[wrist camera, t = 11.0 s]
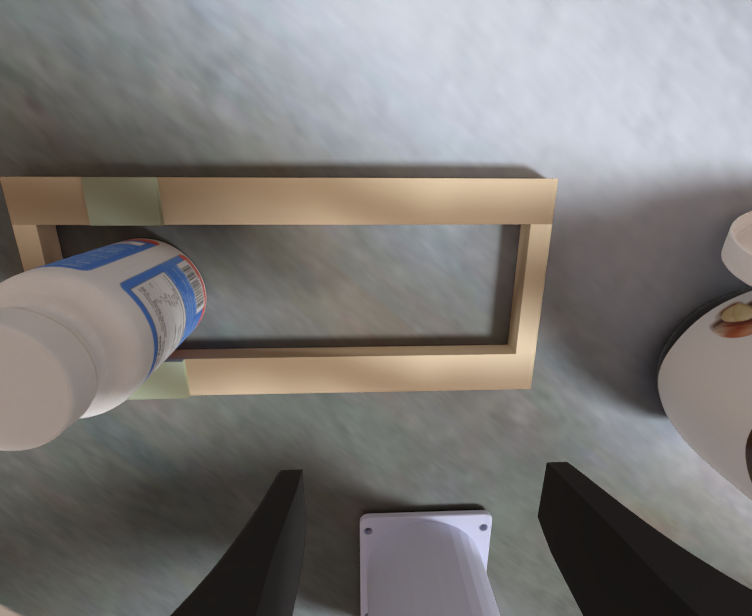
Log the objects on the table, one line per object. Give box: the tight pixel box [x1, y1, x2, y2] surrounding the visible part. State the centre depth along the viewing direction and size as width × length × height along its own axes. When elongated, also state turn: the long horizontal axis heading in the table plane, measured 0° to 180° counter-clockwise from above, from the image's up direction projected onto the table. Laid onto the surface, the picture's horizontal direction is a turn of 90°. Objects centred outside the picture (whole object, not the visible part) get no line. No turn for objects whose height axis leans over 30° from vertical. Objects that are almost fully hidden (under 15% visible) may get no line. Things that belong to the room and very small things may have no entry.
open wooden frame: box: [0, 177, 558, 399], centre depth 20 cm, size 10×24×2 cm, turn 90°
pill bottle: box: [0, 238, 207, 451], centre depth 16 cm, size 6×5×10 cm
